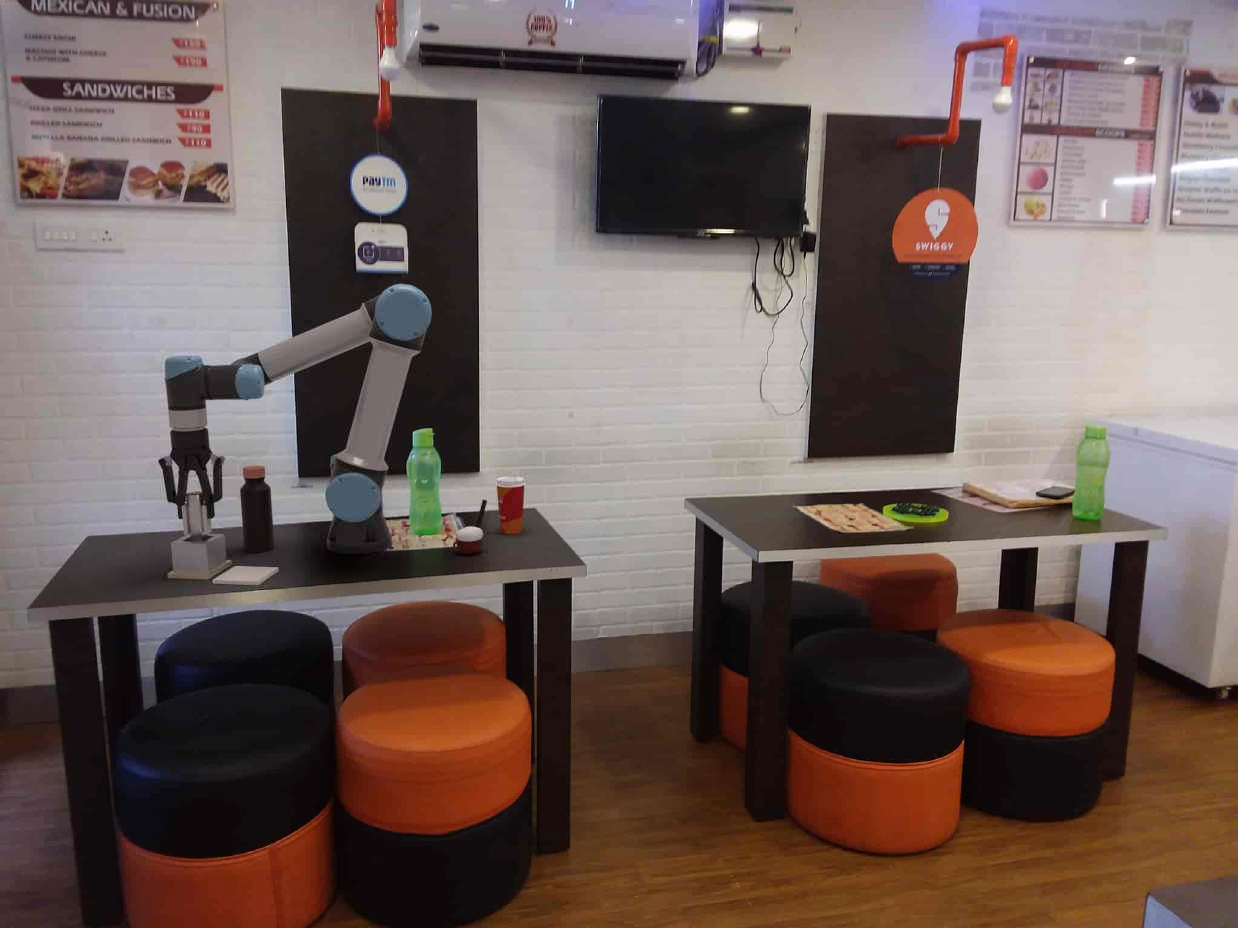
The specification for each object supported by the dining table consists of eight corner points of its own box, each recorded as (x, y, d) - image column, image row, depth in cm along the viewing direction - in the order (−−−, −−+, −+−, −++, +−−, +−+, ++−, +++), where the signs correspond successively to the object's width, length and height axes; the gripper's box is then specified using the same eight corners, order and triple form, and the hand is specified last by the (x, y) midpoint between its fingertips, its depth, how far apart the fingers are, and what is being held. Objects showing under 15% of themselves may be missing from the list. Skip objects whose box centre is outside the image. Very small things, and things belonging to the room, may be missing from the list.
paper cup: (500, 527, 248) (499, 475, 245) (529, 528, 247) (528, 476, 244) (492, 535, 240) (491, 481, 238) (522, 536, 239) (521, 482, 237)
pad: (278, 570, 210) (278, 567, 210) (257, 585, 200) (257, 581, 200) (235, 569, 211) (235, 565, 211) (212, 583, 201) (212, 579, 201)
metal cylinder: (207, 547, 211) (202, 490, 209) (210, 551, 209) (205, 493, 206) (189, 549, 209) (184, 492, 207) (192, 553, 207) (187, 496, 204)
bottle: (274, 551, 225) (269, 469, 221) (244, 554, 223) (238, 471, 219) (274, 543, 231) (269, 464, 227) (244, 546, 229) (238, 465, 225)
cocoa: (455, 559, 221) (451, 510, 218) (449, 551, 227) (446, 503, 224) (494, 553, 225) (491, 505, 222) (488, 545, 230) (485, 498, 227)
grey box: (241, 558, 219) (239, 527, 218) (207, 579, 204) (204, 546, 202) (204, 557, 220) (201, 526, 218) (167, 578, 205) (164, 544, 203)
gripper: (234, 425, 208) (242, 527, 212) (155, 425, 206) (165, 529, 211) (223, 430, 200) (231, 536, 205) (141, 431, 199) (152, 538, 204)
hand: (198, 532), depth 208 cm, fingers closed on metal cylinder, 3 cm apart
